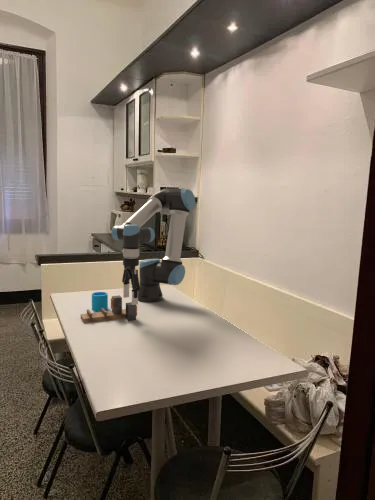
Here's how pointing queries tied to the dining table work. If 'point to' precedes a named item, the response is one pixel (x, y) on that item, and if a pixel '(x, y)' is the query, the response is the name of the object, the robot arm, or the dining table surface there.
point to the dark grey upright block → (131, 312)
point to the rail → (106, 312)
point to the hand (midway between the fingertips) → (130, 300)
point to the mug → (99, 301)
